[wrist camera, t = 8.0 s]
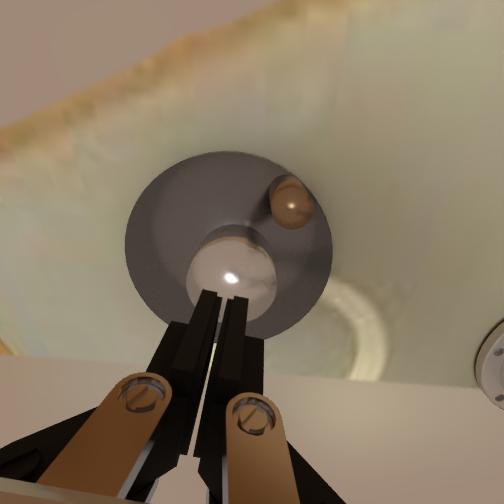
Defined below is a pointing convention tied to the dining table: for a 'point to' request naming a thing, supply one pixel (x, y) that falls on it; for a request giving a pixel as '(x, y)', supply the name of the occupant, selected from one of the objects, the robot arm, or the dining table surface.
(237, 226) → the cover
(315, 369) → the dining table surface
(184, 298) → the turntable
